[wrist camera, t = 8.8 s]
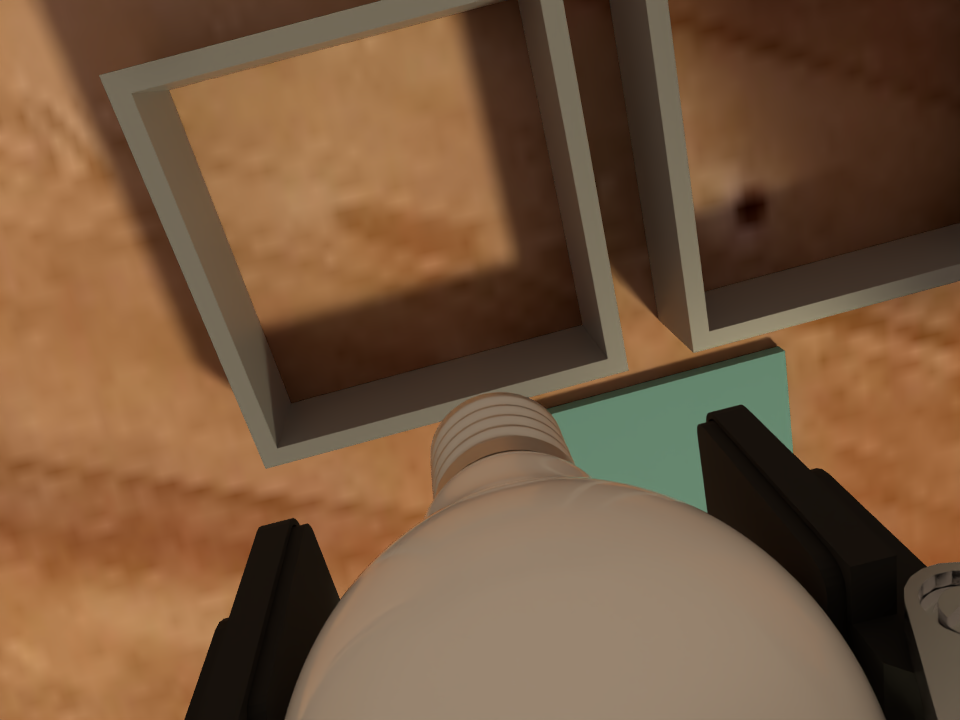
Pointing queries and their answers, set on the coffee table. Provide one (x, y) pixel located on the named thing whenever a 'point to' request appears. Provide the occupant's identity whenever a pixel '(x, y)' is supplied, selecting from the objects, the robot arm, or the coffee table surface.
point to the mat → (672, 422)
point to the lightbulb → (570, 602)
